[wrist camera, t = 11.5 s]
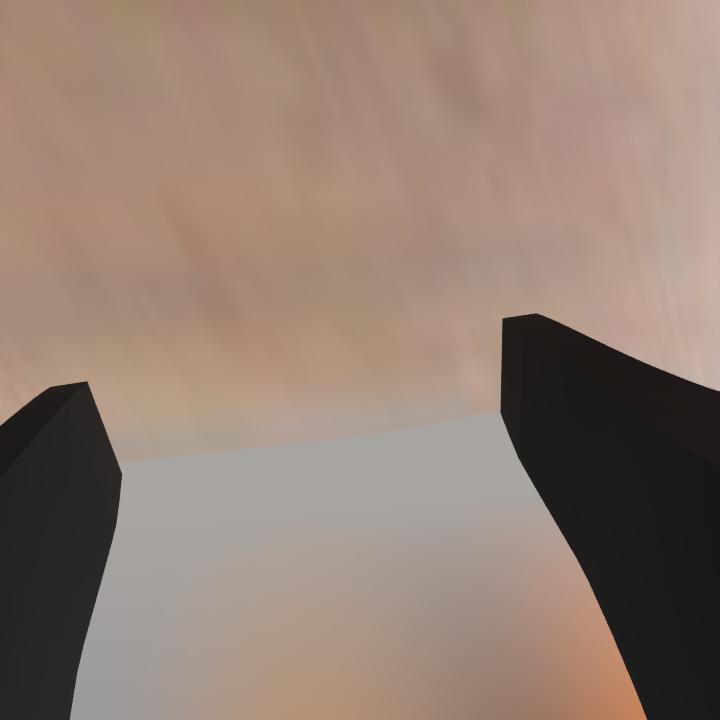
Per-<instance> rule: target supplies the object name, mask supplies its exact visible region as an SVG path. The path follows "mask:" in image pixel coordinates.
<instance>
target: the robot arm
mask: <svg viewBox="0 0 720 720" xmlns="http://www.w3.org/2000/svg"><path fill="white" fill-rule="evenodd" d="M501 415H502V418H503V421H504V423H505V426H506V428H507V431H508V434H509V436H510V439H511V441H512V443H513V446H514V448H515V451H516V453H517V455H518V458H519V460H520V461H521V463H522V465H523V467H524V469H525V470H526V472H527V474H528V476H529V477H530V479H531V481H532V482H533V484H534V486H535V488H536V489H537V491H538V493H539V495H540V496H541V498H542V500H543V502H544V503H545V505H546V507H547V508H548V510H549V512H550V514H551V515H552V517H553V518H554V520H555V522H556V524H557V526H558V527H559V529H560V531H561V532H562V534H563V535H564V537H565V539H566V541H567V543H568V544H569V546H570V548H571V549H572V551H573V553H574V554H575V556H576V558H577V560H578V562H579V564H580V566H581V568H582V569H583V571H584V573H585V575H586V577H587V579H588V581H589V583H590V586H591V588H592V590H593V592H594V595H595V597H596V599H597V601H598V603H599V606H600V608H601V610H602V612H603V614H604V617H605V619H606V621H607V624H608V626H609V628H610V630H611V632H612V635H613V637H614V640H615V642H616V644H617V647H618V649H619V652H620V654H621V656H622V659H623V661H624V663H625V666H626V668H627V671H628V673H629V675H630V678H631V680H632V682H633V685H634V687H635V690H636V692H637V695H638V697H639V699H640V702H641V705H642V707H643V710H644V713H645V715H646V718H647V720H720V392H719V391H716V390H713V389H710V388H707V387H704V386H702V385H699V384H696V383H693V382H691V381H688V380H685V379H683V378H680V377H678V376H675V375H673V374H670V373H668V372H666V371H663V370H661V369H658V368H656V367H653V366H651V365H649V364H646V363H644V362H642V361H639V360H637V359H635V358H633V357H630V356H628V355H626V354H624V353H622V352H619V351H617V350H615V349H613V348H611V347H609V346H607V345H605V344H603V343H600V342H598V341H596V340H594V339H592V338H590V337H588V336H586V335H584V334H582V333H580V332H578V331H576V330H574V329H571V328H569V327H567V326H565V325H563V324H561V323H559V322H557V321H554V320H552V319H550V318H547V317H545V316H542V315H540V314H537V313H535V314H529V315H522V316H516V317H509V318H503V323H502V370H501ZM121 480H122V473H121V470H120V467H119V465H118V462H117V459H116V457H115V454H114V451H113V449H112V446H111V443H110V441H109V438H108V435H107V433H106V430H105V427H104V425H103V422H102V419H101V417H100V414H99V411H98V409H97V406H96V403H95V401H94V398H93V395H92V393H91V390H90V387H89V385H88V382H87V381H86V382H80V383H73V384H67V385H60V386H53V387H50V388H48V389H47V390H45V391H44V392H42V393H41V394H39V395H38V396H37V397H35V398H34V399H33V400H31V401H30V402H29V403H28V404H26V405H25V406H24V407H23V408H21V409H20V410H19V411H18V412H17V413H15V414H14V415H13V416H12V417H10V418H9V419H8V420H7V421H6V422H4V423H3V424H2V425H1V426H0V720H70V713H71V708H72V702H73V695H74V689H75V683H76V676H77V671H78V666H79V663H80V658H81V654H82V650H83V645H84V641H85V638H86V634H87V631H88V626H89V623H90V620H91V616H92V612H93V609H94V605H95V602H96V598H97V595H98V591H99V587H100V584H101V580H102V576H103V573H104V569H105V566H106V562H107V558H108V555H109V551H110V547H111V543H112V540H113V536H114V531H115V528H116V522H117V515H118V507H119V500H120V489H121Z"/></svg>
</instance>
